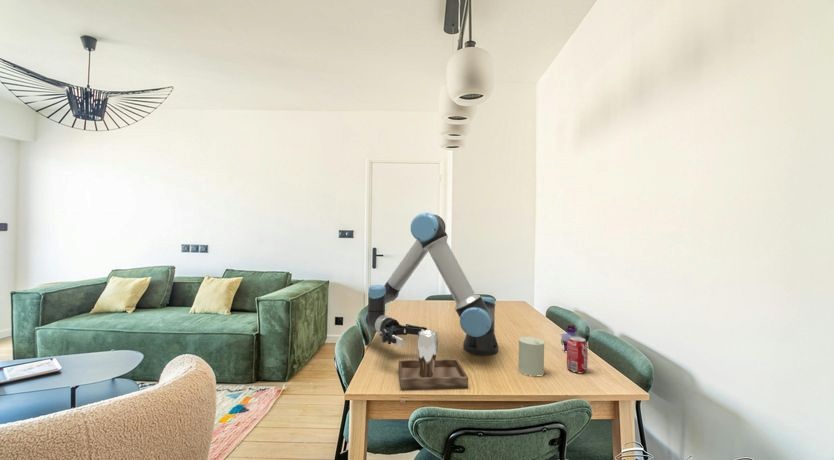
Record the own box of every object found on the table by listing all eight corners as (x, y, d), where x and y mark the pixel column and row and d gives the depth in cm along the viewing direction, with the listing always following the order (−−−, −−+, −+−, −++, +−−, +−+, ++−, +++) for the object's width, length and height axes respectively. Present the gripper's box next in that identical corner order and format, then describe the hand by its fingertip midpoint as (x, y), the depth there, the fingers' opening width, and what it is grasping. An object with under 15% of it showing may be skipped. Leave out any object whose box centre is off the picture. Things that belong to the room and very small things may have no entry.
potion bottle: (556, 348, 149) (557, 321, 149) (575, 348, 150) (576, 322, 150) (566, 355, 141) (566, 327, 141) (586, 355, 141) (586, 327, 141)
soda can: (585, 368, 127) (586, 337, 128) (588, 375, 121) (589, 342, 121) (565, 365, 130) (566, 334, 130) (567, 372, 123) (568, 340, 123)
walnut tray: (457, 368, 125) (457, 359, 125) (467, 388, 109) (468, 377, 109) (398, 369, 122) (398, 360, 122) (400, 390, 106) (400, 379, 107)
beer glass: (435, 382, 111) (436, 337, 111) (414, 379, 112) (415, 335, 112) (438, 373, 117) (439, 330, 117) (418, 371, 119) (419, 329, 119)
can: (531, 378, 117) (532, 344, 117) (512, 369, 125) (513, 337, 126) (549, 374, 121) (550, 341, 122) (530, 365, 130) (531, 334, 130)
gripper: (411, 330, 147) (443, 344, 130) (360, 340, 132) (388, 357, 115) (412, 313, 147) (443, 325, 130) (360, 321, 132) (388, 335, 115)
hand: (417, 340), depth 122 cm, fingers open, 13 cm apart
